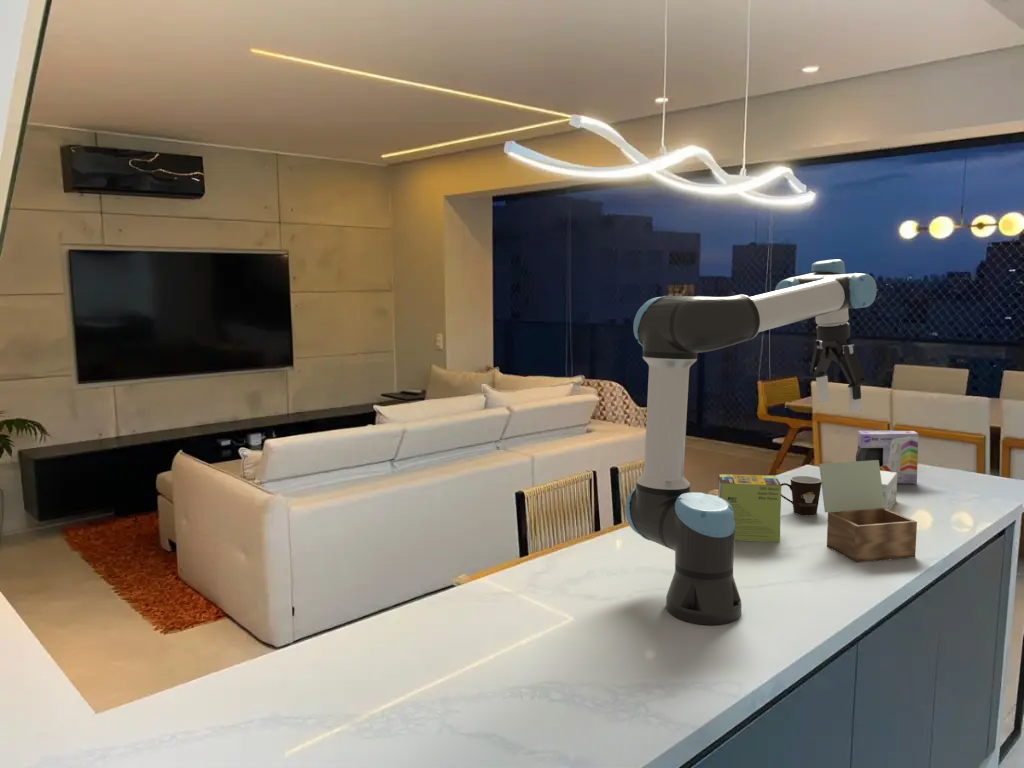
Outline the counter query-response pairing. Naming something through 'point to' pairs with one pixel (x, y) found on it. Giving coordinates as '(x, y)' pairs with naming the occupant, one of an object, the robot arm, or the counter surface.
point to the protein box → (753, 505)
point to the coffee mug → (804, 494)
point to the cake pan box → (891, 452)
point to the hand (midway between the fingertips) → (839, 406)
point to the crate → (871, 534)
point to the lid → (851, 486)
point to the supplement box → (889, 488)
